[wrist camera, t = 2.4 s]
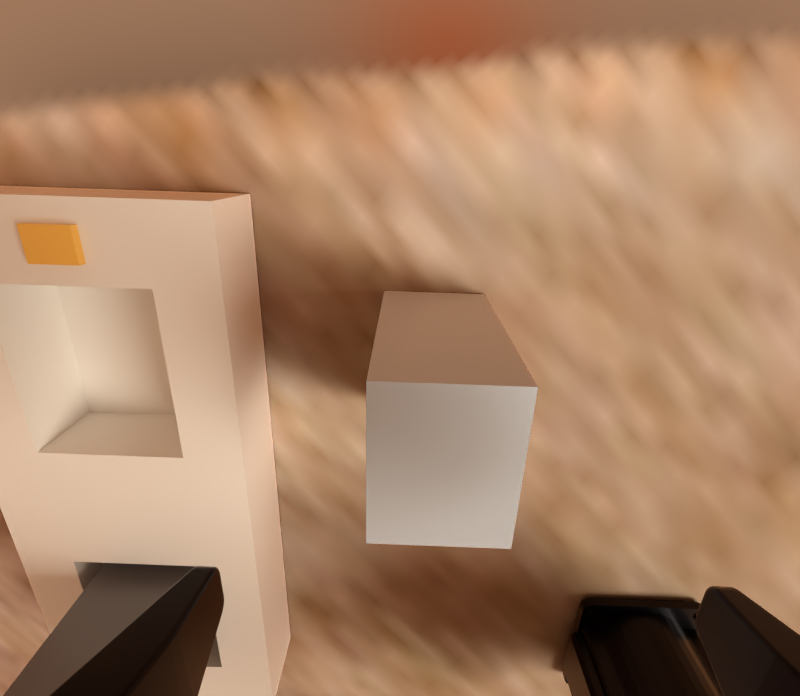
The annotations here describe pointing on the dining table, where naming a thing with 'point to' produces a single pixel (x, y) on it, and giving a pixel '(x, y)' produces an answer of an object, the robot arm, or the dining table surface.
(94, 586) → the twin plug
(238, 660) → the power strip
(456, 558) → the dining table surface
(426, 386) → the plug
